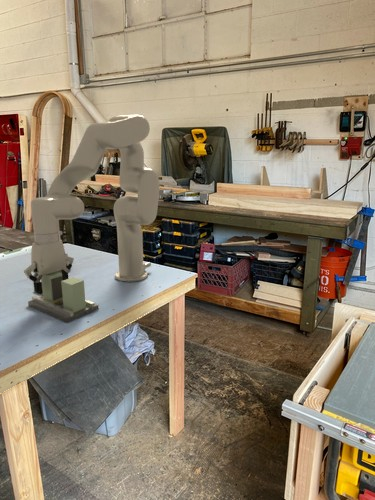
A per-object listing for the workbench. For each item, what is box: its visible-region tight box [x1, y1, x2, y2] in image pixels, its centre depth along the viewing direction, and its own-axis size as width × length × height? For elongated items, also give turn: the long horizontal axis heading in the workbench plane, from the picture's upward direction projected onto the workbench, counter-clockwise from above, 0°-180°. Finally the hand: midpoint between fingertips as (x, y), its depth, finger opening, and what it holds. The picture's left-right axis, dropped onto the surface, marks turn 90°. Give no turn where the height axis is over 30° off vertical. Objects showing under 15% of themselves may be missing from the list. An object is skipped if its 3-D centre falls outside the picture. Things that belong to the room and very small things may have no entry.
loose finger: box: [40, 271, 63, 303], centre depth 122 cm, size 4×6×9 cm
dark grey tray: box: [27, 295, 99, 324], centre depth 120 cm, size 12×20×3 cm, turn 54°
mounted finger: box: [61, 276, 86, 312], centre depth 116 cm, size 4×6×9 cm
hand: (52, 288), depth 122 cm, fingers open, 9 cm apart
